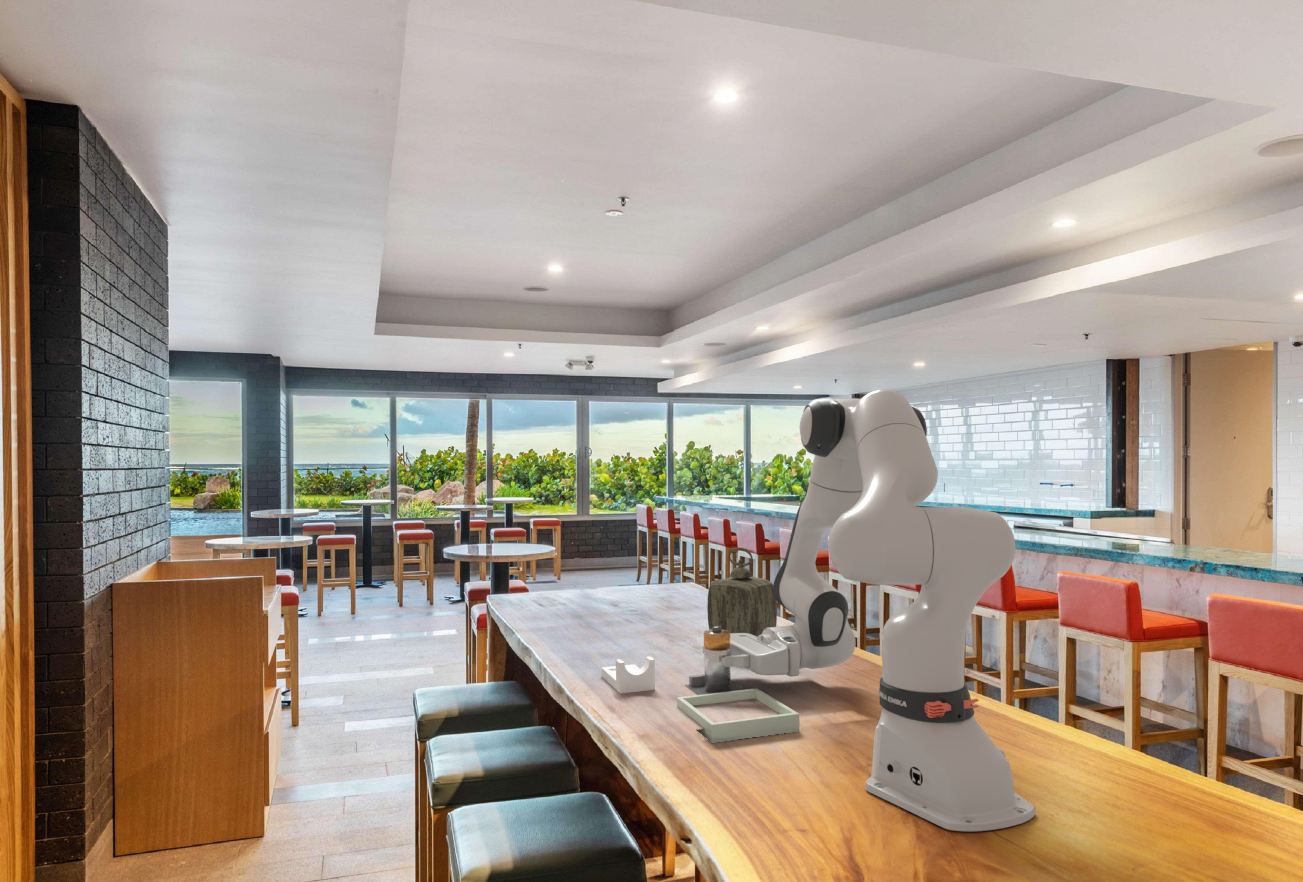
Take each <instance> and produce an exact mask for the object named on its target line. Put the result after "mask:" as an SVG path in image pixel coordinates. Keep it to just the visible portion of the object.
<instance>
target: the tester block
mask: <svg viewBox="0 0 1303 882" xmlns="http://www.w3.org/2000/svg"><path fill="white" fill-rule="evenodd" d="M688 679H689V681H688V684H684V686H685V687H686V688H687V689H689V690H690V691H692V692H693V694H695V695H703V694H712V692H708V691H706V690H705V673H703V674H693V675H689V676H688ZM739 690H747V689H746V688H744V687H742V686H741V685H739V684H738V683H737V682H735V681H733V680H731V690H730V691H739ZM730 691H728V692H730Z"/></svg>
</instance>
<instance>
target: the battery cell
mask: <svg viewBox="0 0 1303 882" xmlns="http://www.w3.org/2000/svg"><path fill="white" fill-rule="evenodd" d="M703 646H704V653H703V655H704V656H703V658H704V659H703V661H704V662H703V663H704V665H703V666H704V668H703V669H704V670H703V671H704V673H703V674H705V690H706V691H708V692H712V693H721V692H728V691H730V690H731V681H732V679H731V666H729V667H726V666H724V665H722V663H721V661H722V660H721V657H722V656H723V655H730V631H728V630H722V627H721V626H713V627H712V629H711V630H709V629H707V630H704V631H703Z"/></svg>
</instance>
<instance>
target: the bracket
mask: <svg viewBox="0 0 1303 882" xmlns="http://www.w3.org/2000/svg"><path fill="white" fill-rule="evenodd" d="M655 664H656V660H655V659H654V658H653V657H652V656H645V661H644V664H643V665H642V666H641V667H640V668H639V666H638V665H636V664H634V663H633V664H625V661H623V660H622V659H619V658H618V659H615V665H613V666H603V667H601V677H602V678H603V679H604V680H605V681H606V683H608V684H609V685H610V686H611V687H612V688H614V690H615V691H617V692H618V693H619V694H629V693H636V692H644V691H654V690H656V668H655V667H656V665H655Z"/></svg>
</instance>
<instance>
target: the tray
mask: <svg viewBox="0 0 1303 882" xmlns="http://www.w3.org/2000/svg"><path fill="white" fill-rule="evenodd" d="M752 699H756V700H757V701H759V702H761V704H764V705H765V706H766V707H768V708H770V709H771V710H773V711H774V712H776V713H778V714H775V715H774V714H773V715H765V716H757V717H749V718H743V719H734V720H727V721H719V722H714V721H713V720H712V719H710V718H709V717H708V716H706V715H705V714H704V713H702V712H701V711H700V710H699V709H697V708H696V707H694V706H701V705H711V704H720V703H728V702H737V701H745V700H752ZM676 707H677V708H679V709H680V710H681V711H683V713H685V714H686V715H687V716H689V717H690V718H691V719H692V720H693V721H695V722H696V723H697V724H698V725H699V726H701V727H702V728H701V729H696V731H697V733H699V734H700V735H701V734H702V735H701V736H702V737H703V738H705V739H706V738H707V739H708V740H709V741H708V740H707V739H706V740H707V741H708V742H709V743H711V744H718V743H717V742H720V743H726V742H725V741H727V742H732V741H731V740H734V741H739V740H738V739H742V740H746V739H745V738H749V739H753V738H752V737H757V738H760V737H759V736H764V737H769V736H768V735H771V736H776V735H775V734H779V735H784V733H786V734H793V732H794V733H798V732H799V731H801V729H800V726H801V724H800V713H799V712H797V711H796V710H794V709H792V708H790V707H789V706H787V705H785V704H784V703H782V702H781V701H779V700H777V699H776V698H774V697H772V696H770V695H769V694H767V693H765V692H764V691H762V690H761V689H759V688H756V687H755V688H748V689H746V690H739V691H730V692H721V693H712V694H703V695H697V694H695V695H688V696H686V695H685V696H680V697H677V698H676ZM799 733H800V732H799ZM766 735H767V736H766Z"/></svg>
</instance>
